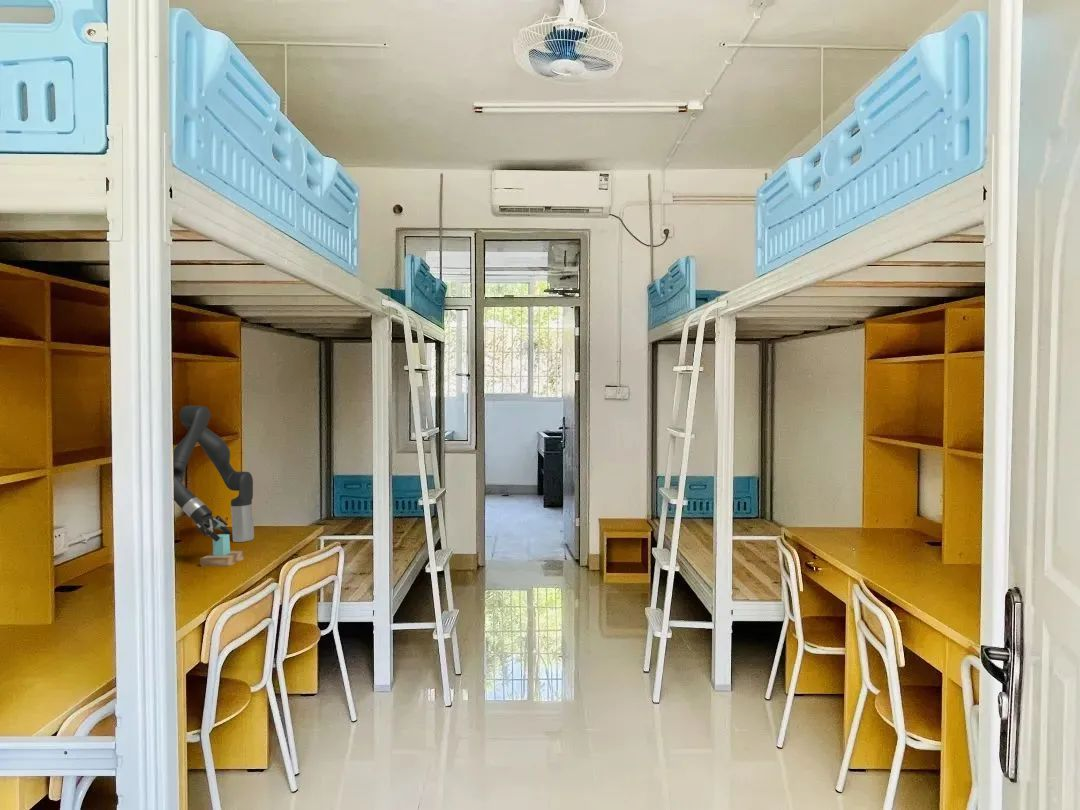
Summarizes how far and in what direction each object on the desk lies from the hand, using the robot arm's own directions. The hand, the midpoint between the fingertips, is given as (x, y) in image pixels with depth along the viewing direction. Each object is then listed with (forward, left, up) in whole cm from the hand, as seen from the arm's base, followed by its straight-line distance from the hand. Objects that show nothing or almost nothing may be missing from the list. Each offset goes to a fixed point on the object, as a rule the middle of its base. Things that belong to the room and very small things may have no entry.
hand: (224, 537), depth 279 cm
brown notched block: (0, -1, -11) cm, 11 cm away
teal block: (0, -2, -7) cm, 7 cm away
